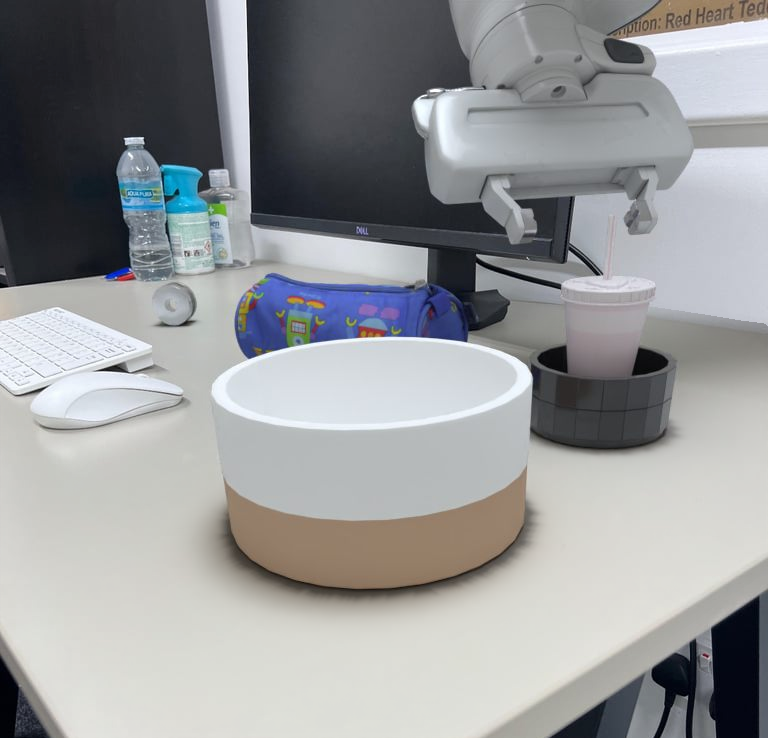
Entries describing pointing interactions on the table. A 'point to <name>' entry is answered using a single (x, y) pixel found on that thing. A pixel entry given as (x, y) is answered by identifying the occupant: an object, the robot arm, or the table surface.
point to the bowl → (374, 458)
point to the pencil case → (344, 313)
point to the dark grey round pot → (601, 400)
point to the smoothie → (605, 318)
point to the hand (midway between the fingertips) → (585, 233)
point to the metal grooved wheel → (183, 301)
